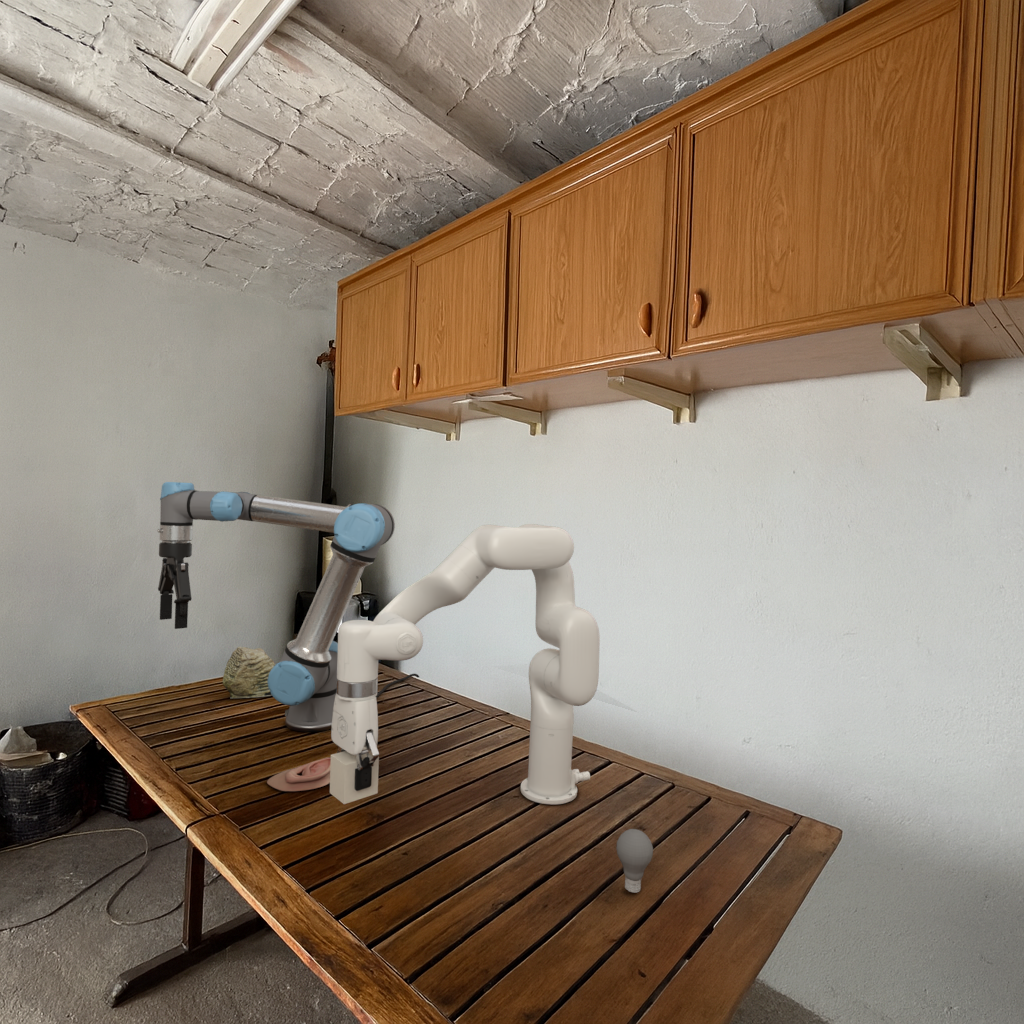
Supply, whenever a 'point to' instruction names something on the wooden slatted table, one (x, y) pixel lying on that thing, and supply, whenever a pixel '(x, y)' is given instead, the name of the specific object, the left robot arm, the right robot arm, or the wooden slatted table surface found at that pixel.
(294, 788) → the anatomical model
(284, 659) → the left robot arm
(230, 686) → the fossil
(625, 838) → the light bulb
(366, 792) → the brick
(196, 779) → the wooden slatted table surface
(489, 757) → the wooden slatted table surface
